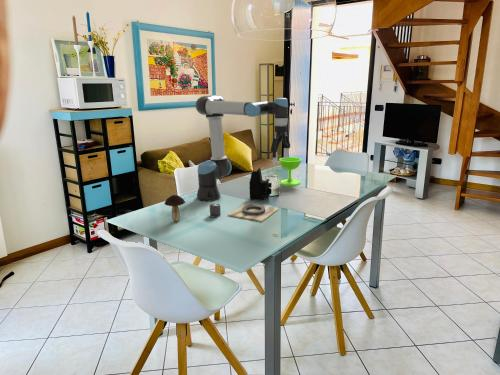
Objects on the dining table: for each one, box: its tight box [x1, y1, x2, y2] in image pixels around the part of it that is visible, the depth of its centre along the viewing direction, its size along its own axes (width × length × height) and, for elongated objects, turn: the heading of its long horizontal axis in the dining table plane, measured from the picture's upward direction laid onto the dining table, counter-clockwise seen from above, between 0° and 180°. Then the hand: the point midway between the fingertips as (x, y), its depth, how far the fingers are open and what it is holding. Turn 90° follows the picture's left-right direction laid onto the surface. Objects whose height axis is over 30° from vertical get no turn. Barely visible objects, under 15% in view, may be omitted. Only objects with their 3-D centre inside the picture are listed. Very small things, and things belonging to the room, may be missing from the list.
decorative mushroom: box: [164, 194, 186, 222], centre depth 194 cm, size 11×11×15 cm
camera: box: [248, 167, 273, 201], centre depth 229 cm, size 10×14×20 cm
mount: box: [227, 202, 280, 223], centre depth 207 cm, size 22×22×2 cm
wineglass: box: [278, 156, 302, 187], centre depth 263 cm, size 16×16×18 cm
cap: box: [209, 203, 222, 218], centre depth 203 cm, size 6×6×6 cm
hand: (280, 160), depth 215 cm, fingers open, 13 cm apart
